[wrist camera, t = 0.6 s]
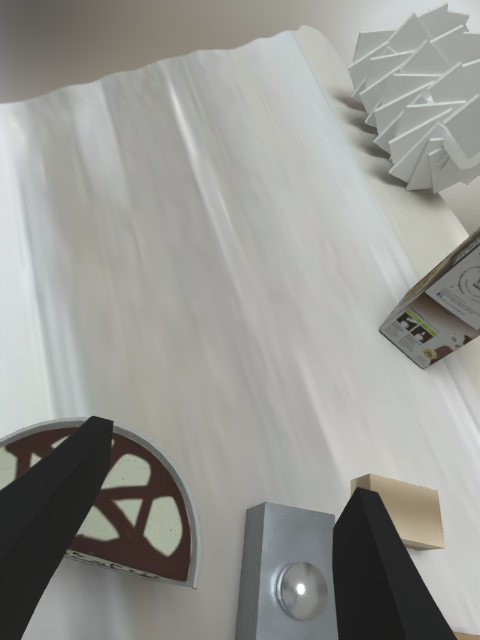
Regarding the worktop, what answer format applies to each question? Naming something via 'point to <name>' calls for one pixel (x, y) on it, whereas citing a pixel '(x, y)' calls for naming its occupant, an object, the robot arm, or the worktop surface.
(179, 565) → the food container
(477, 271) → the coffee box
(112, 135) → the worktop surface
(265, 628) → the block
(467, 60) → the spiral staircase
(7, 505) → the robot arm
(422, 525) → the beech offcut
